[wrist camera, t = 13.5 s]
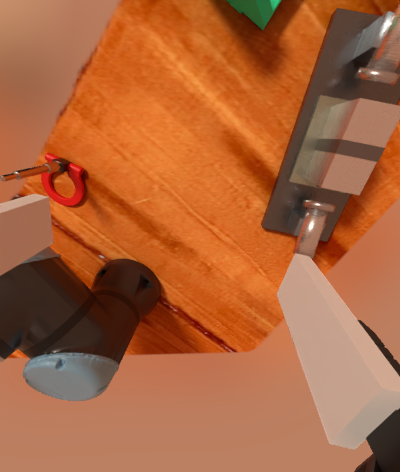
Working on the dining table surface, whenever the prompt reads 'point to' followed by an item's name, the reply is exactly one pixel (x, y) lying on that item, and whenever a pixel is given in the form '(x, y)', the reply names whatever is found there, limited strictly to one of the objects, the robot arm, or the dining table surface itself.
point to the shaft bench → (316, 113)
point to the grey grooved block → (351, 144)
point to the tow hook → (46, 173)
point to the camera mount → (256, 9)
